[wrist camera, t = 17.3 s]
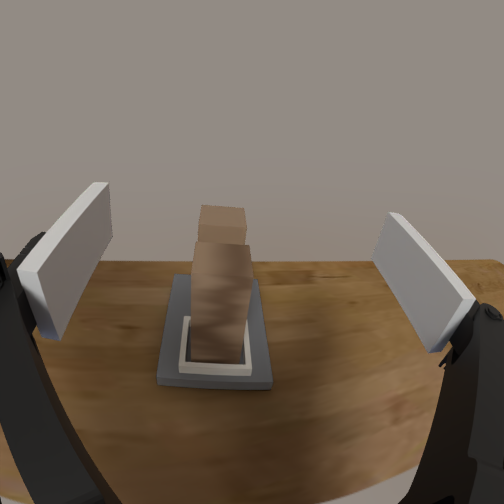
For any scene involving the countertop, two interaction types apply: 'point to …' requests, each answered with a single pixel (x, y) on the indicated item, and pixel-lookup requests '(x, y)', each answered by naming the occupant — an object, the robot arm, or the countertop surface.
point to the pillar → (219, 301)
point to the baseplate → (179, 323)
